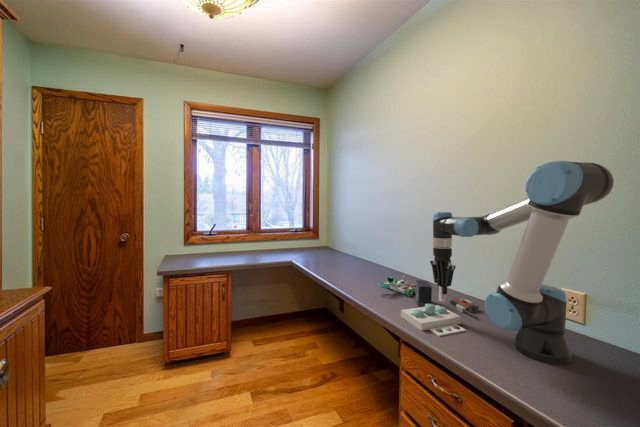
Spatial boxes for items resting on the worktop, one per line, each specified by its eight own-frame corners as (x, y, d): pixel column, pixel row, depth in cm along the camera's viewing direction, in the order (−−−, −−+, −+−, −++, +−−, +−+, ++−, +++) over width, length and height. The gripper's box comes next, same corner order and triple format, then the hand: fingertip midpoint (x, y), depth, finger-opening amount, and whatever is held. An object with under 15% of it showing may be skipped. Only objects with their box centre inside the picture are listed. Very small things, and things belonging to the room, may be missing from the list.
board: (460, 323, 117) (461, 316, 117) (421, 330, 111) (421, 323, 111) (437, 311, 130) (437, 304, 130) (400, 316, 124) (400, 310, 124)
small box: (432, 308, 134) (432, 286, 133) (418, 307, 135) (418, 286, 135) (428, 300, 144) (428, 280, 144) (415, 299, 146) (415, 279, 145)
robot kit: (368, 291, 159) (368, 275, 158) (399, 284, 172) (399, 269, 171) (392, 302, 143) (392, 284, 143) (424, 293, 156) (424, 277, 155)
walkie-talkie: (445, 304, 140) (474, 320, 121) (445, 295, 140) (474, 310, 121) (461, 302, 142) (492, 319, 122) (461, 294, 142) (492, 309, 122)
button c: (425, 322, 117) (425, 312, 117) (417, 323, 116) (417, 314, 116) (419, 318, 121) (419, 309, 121) (411, 319, 120) (411, 310, 120)
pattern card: (465, 331, 110) (465, 329, 110) (439, 336, 106) (439, 333, 106) (456, 325, 115) (456, 323, 115) (430, 330, 111) (430, 328, 111)
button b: (437, 315, 119) (437, 306, 119) (429, 316, 118) (429, 307, 118) (430, 311, 123) (430, 303, 123) (422, 313, 122) (422, 304, 122)
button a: (448, 318, 121) (448, 309, 121) (440, 319, 120) (440, 310, 120) (441, 314, 125) (441, 305, 125) (433, 315, 124) (434, 306, 124)
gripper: (461, 248, 116) (460, 304, 116) (438, 244, 128) (438, 295, 129) (446, 249, 114) (446, 306, 114) (425, 245, 126) (425, 297, 127)
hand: (442, 300), depth 121 cm, fingers closed
